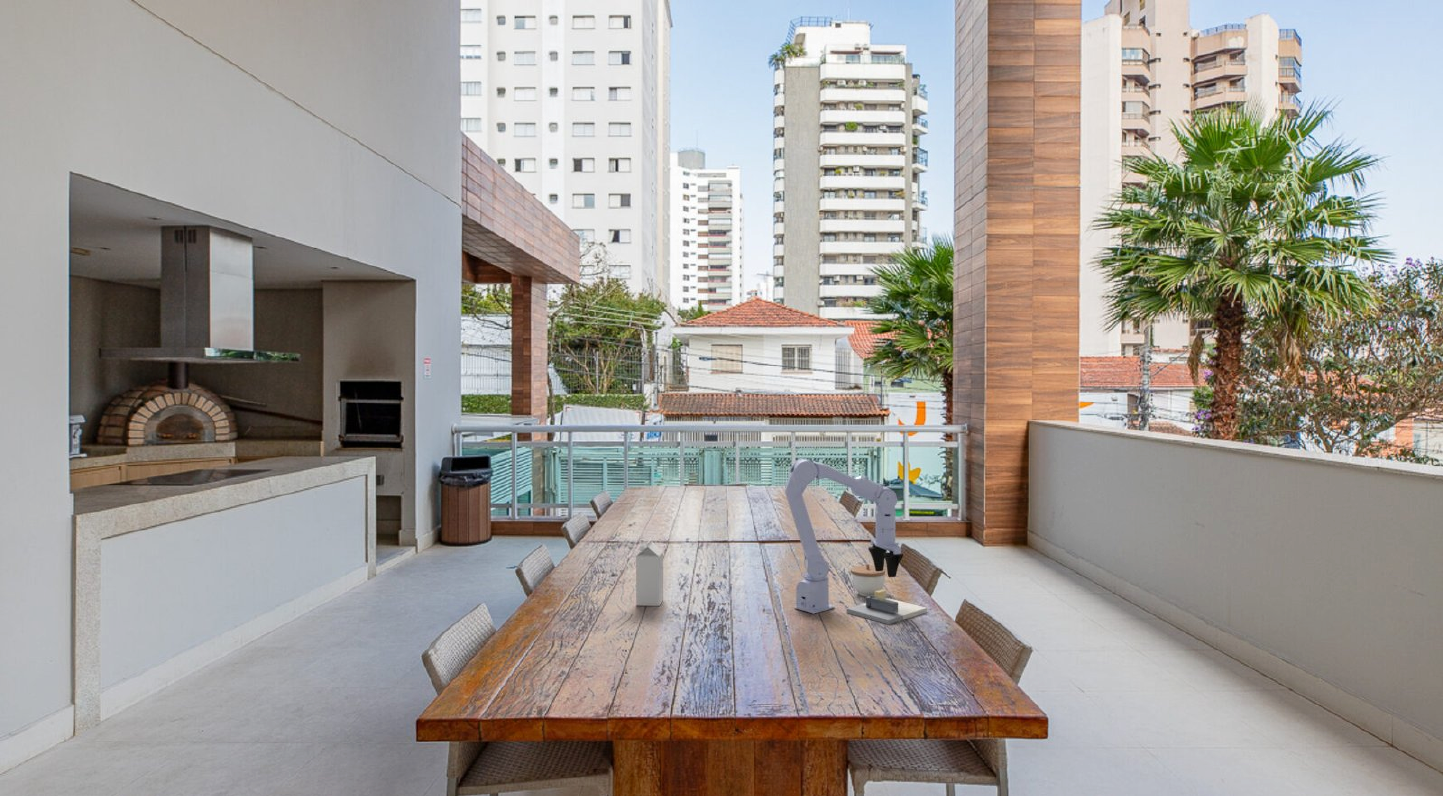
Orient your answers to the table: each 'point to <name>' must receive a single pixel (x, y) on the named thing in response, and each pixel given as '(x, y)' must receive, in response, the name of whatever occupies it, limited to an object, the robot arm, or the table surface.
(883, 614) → the door board
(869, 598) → the swing bar
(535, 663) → the table surface
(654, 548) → the milk carton
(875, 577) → the lidded jar
